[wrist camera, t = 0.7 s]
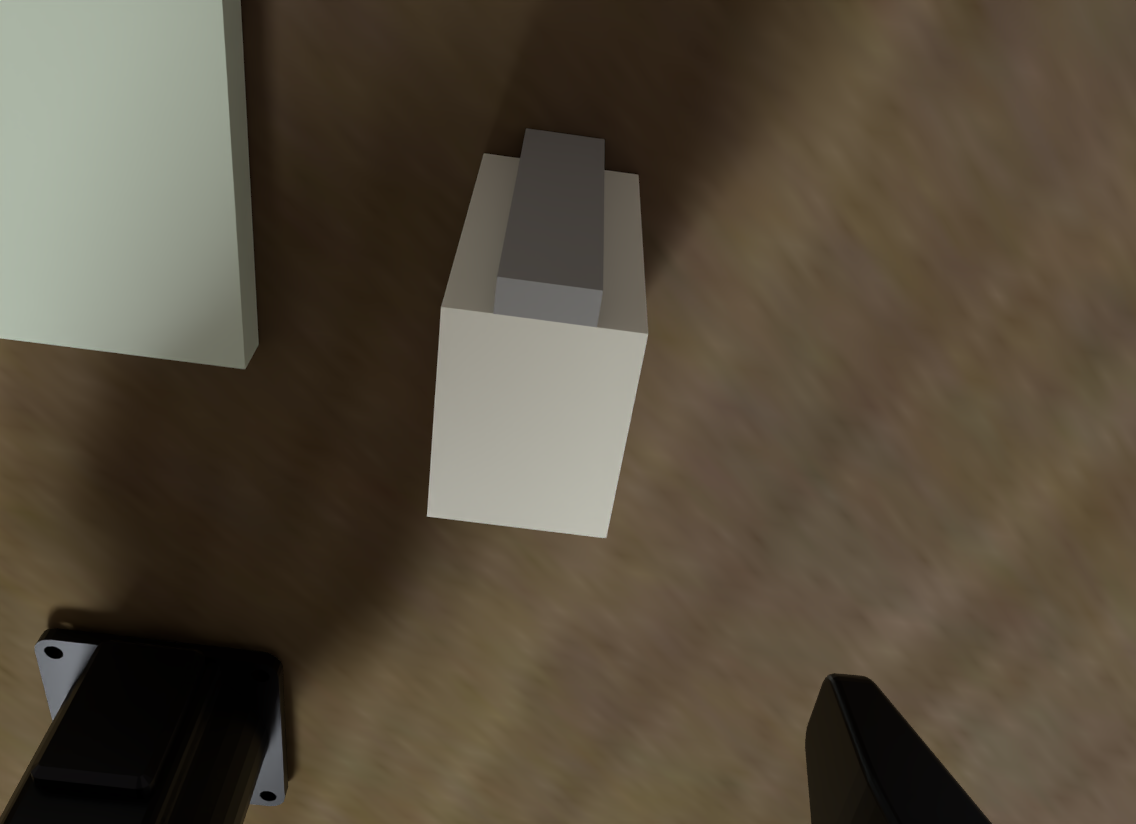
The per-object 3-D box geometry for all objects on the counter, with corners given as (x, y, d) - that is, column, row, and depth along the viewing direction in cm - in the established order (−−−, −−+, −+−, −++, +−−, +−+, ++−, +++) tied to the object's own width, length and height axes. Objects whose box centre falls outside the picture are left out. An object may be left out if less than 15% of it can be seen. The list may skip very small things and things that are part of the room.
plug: (606, 349, 22) (606, 538, 17) (468, 331, 22) (427, 515, 17) (643, 144, 19) (655, 297, 14) (486, 122, 19) (443, 269, 14)
